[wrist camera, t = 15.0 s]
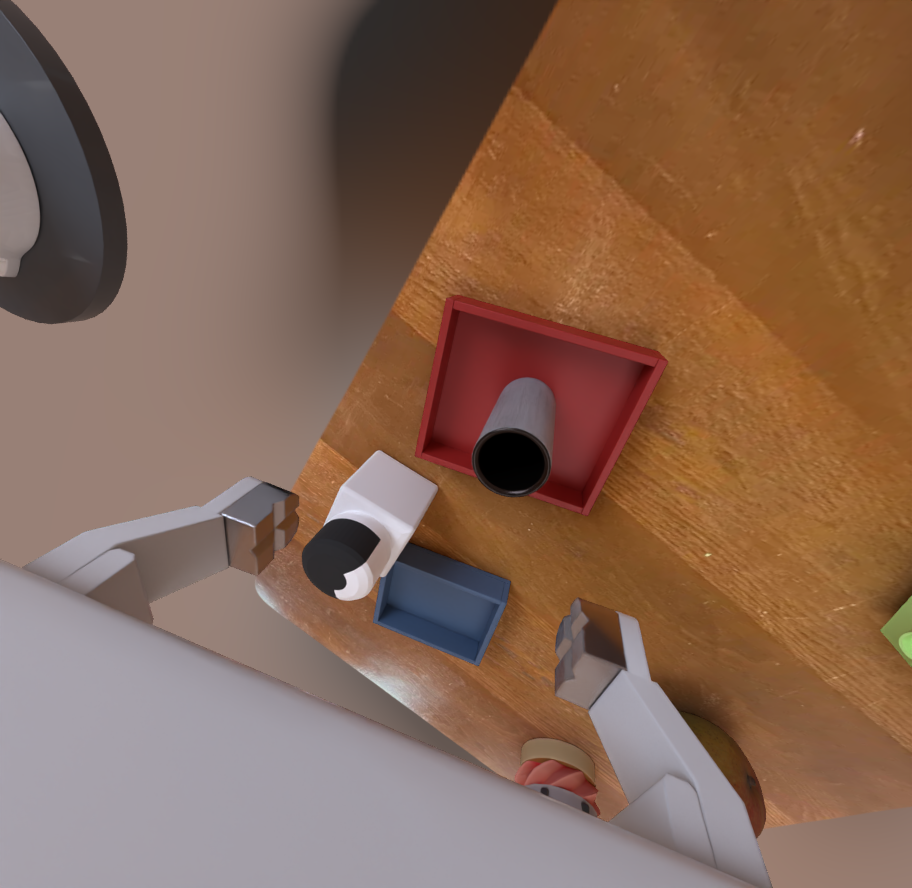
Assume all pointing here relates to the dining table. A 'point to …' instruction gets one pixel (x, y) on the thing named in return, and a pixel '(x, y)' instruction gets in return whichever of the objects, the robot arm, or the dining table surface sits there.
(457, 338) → the red tray
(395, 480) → the medicine bottle
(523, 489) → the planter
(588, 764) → the cake
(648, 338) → the dining table surface
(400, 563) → the blue tray
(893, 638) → the green horned cube
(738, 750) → the fruit
